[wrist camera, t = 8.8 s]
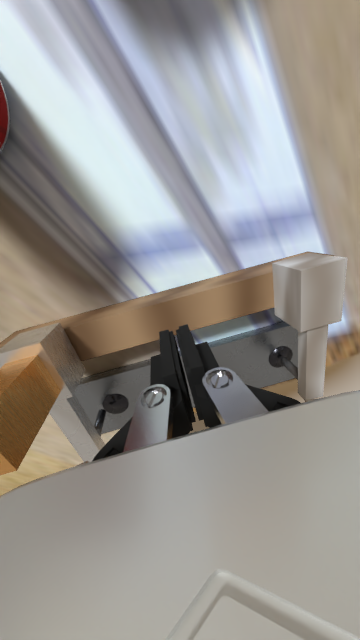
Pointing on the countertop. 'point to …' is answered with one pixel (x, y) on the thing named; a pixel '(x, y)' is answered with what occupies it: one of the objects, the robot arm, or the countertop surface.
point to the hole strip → (232, 352)
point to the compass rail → (227, 311)
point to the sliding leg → (42, 395)
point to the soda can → (4, 117)
